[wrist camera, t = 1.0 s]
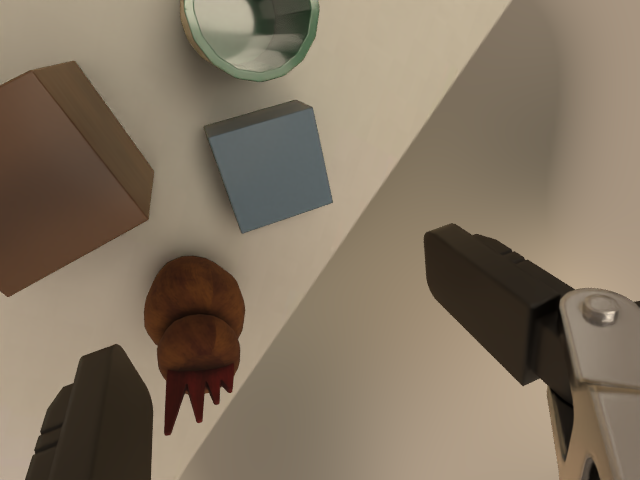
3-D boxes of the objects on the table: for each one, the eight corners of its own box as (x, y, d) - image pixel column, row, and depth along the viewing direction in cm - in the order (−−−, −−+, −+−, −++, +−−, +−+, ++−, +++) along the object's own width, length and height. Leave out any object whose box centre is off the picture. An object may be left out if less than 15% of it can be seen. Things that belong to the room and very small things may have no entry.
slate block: (203, 125, 28) (207, 137, 25) (296, 99, 30) (313, 107, 26) (234, 213, 32) (241, 234, 28) (316, 186, 33) (333, 203, 30)
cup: (163, -30, 24) (160, -60, 17) (264, -51, 25) (302, -88, 18) (200, 80, 27) (211, 95, 20) (289, 57, 28) (329, 63, 21)
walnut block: (-49, 123, 24) (-151, 162, 16) (74, 60, 24) (31, 69, 17) (51, 227, 28) (7, 298, 20) (154, 171, 29) (149, 219, 21)
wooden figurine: (136, 295, 32) (115, 464, 19) (164, 234, 31) (161, 372, 18) (216, 316, 35) (243, 472, 23) (245, 261, 34) (290, 395, 21)
